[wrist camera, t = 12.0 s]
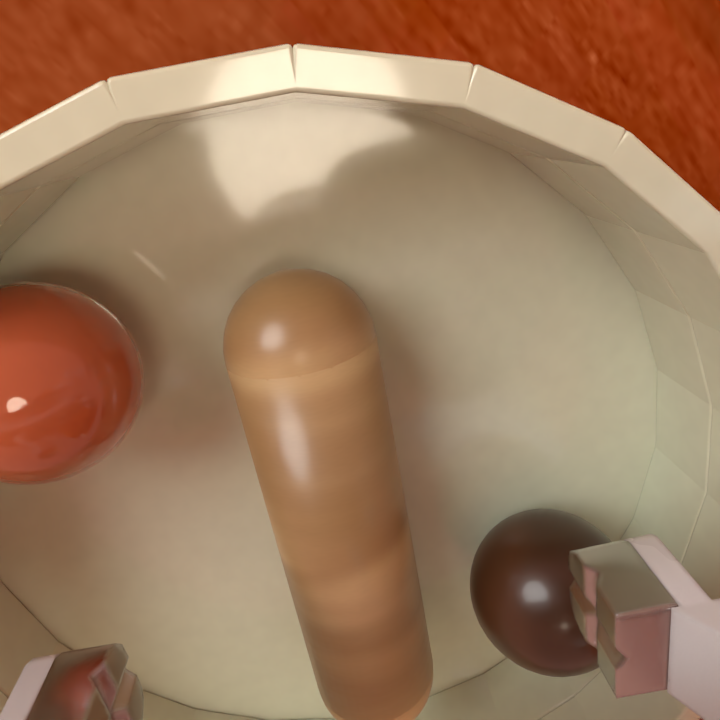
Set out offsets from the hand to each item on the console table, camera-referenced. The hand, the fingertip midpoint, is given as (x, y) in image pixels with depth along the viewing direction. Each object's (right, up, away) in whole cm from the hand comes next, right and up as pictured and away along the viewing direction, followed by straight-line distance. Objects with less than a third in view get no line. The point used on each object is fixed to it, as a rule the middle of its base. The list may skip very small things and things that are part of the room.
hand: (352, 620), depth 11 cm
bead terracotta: (-6, +4, +1) cm, 8 cm away
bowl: (-1, +2, +5) cm, 6 cm away
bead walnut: (+5, -1, +4) cm, 7 cm away
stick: (-1, +1, +5) cm, 5 cm away
